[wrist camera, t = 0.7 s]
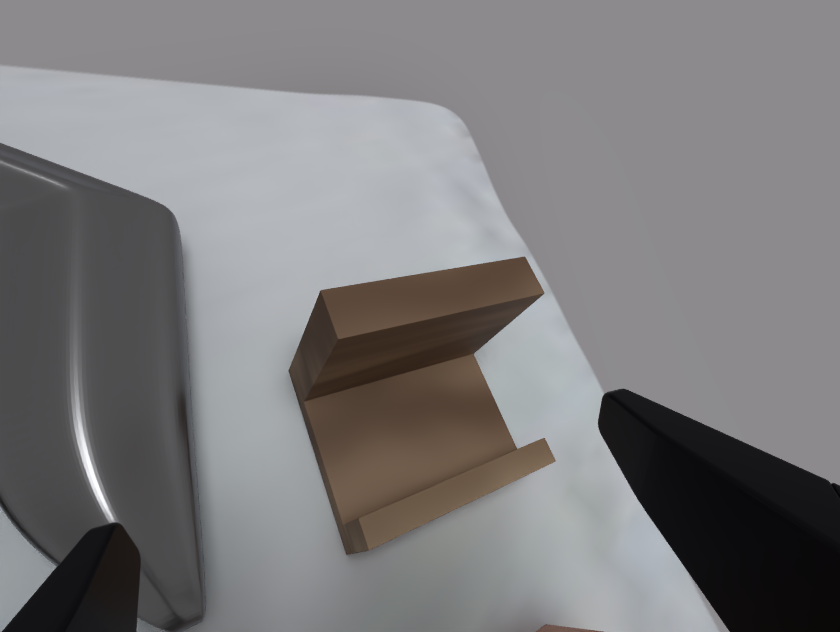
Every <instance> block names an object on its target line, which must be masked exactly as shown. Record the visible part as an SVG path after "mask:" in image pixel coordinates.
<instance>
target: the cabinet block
mask: <svg viewBox="0 0 840 632" xmlns="http://www.w3.org/2000/svg"><path fill="white" fill-rule="evenodd" d="M536 632H602V631H594V630H586V629H578V628H570V627H562V626H555V625H547V624H546V625H544V626H543V627H542V628H540V629H539V630H537V631H536Z"/></svg>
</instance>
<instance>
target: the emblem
mask: <svg viewBox="0 0 840 632" xmlns="http://www.w3.org/2000/svg"><path fill="white" fill-rule="evenodd" d="M0 507H1V508H2V510H3V511H4V513H5V514H6V516H7V517H8V518H9V520H10V521H11V522H12V524H13V525H14V526H15V527H16V529H17V530H18V531H19V532H20V533H21V534H22V535H23V537H24V538H25V539H26V540H27V541H28V542H29V543H30V544H31V545H32V546H33V547H34V548H35V549H37V550H38V551H39V552H40V553H41V554H42V555H43V556H45V557H46V558H47V559H48V560H49V561H51V562H52V563H53V564H55V565H56V566H58V565H59V564H60V563H61V562H62V560H63V559H64V558H65V557H66V556H67V555H68V553H69V552H70V551H71V550H72V549H73V547H74V546H75V545H76V544H77V543H78V542H79V540H80V539H81V538H82V537H83V536H84V535H85V534H86V532H88V531H89V530H90V529H92V528H94V527H98V526H101V525H105V524H109V523H113V522H118V523H120V524H122V525H123V527H124V528H125V530H126V531H127V532H128V534H129V535H130V537H131V538H132V540H133V541H134V543H135V544H136V546H137V547H138V549H139V552H140V556H141V573H140V587H139V601H138V615H137V617H138V618H139V619H141V620H143V621H145V622H147V623H149V624H151V625H153V626H155V627H158V628H160V629H162V630H165V631H168V632H182V631H184V630H186V629H188V628H190V627H192V626H194V625H196V624H198V623H200V622H202V621H203V619H204V617H205V609H206V596H205V576H204V561H203V547H202V535H201V522H200V510H199V498H198V486H197V474H196V462H195V450H194V436H193V422H192V407H191V391H190V375H189V359H188V343H187V327H186V311H185V295H184V278H183V262H182V247H181V236H180V230H179V226H178V223H177V220H176V218H175V216H174V214H173V213H172V212H171V211H170V210H169V209H168V208H167V207H165V206H164V205H162V204H160V203H158V202H156V201H154V200H151V199H149V198H147V197H144V196H142V195H139V194H136V193H134V192H131V191H129V190H126V189H123V188H121V187H118V186H115V185H112V184H110V183H107V182H104V181H102V180H99V179H96V178H94V177H91V176H88V175H86V174H83V173H80V172H77V171H75V170H72V169H69V168H67V167H64V166H61V165H59V164H56V163H53V162H51V161H48V160H45V159H42V158H40V157H37V156H34V155H32V154H29V153H26V152H24V151H21V150H18V149H15V148H13V147H10V146H7V145H5V144H2V143H0Z"/></svg>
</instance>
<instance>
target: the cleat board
mask: <svg viewBox="0 0 840 632" xmlns="http://www.w3.org/2000/svg"><path fill="white" fill-rule="evenodd" d="M543 294H544V291H543V289H542V287H541V285H540V284H539V282H538V280H537V278H536V276H535V274H534V272H533V271H532V269H531V267H530V265H529V263H528V261H527V259H526V258H525V257H520V258H514V259H508V260H502V261H496V262H489V263H483V264H477V265H471V266H465V267H459V268H453V269H447V270H441V271H435V272H429V273H423V274H417V275H411V276H405V277H398V278H392V279H386V280H380V281H374V282H368V283H362V284H356V285H350V286H344V287H338V288H332V289H326V290H321V291H320V293H319V296H318V298H317V301H316V303H315V306H314V308H313V311H312V313H311V316H310V318H309V321H308V323H307V326H306V328H305V331H304V333H303V336H302V338H301V341H300V344H299V346H298V349H297V351H296V354H295V356H294V359H293V361H292V364H291V366H290V369H289V373H290V376H291V380H292V383H293V386H294V389H295V392H296V395H297V399H298V402H299V405H300V408H301V411H302V415H303V418H304V421H305V424H306V427H307V430H308V434H309V437H310V440H311V443H312V446H313V450H314V453H315V456H316V459H317V462H318V465H319V469H320V472H321V475H322V478H323V481H324V485H325V488H326V491H327V494H328V497H329V500H330V504H331V507H332V510H333V513H334V516H335V519H336V523H337V526H338V529H339V532H340V535H341V539H342V542H343V545H344V548H345V551H346V554H347V555H348V554H353V553H358V552H363V551H368V550H371V549H373V548H375V547H377V546H379V545H381V544H384V543H386V542H388V541H390V540H392V539H394V538H396V537H398V536H400V535H402V534H405V533H407V532H409V531H411V530H413V529H415V528H417V527H419V526H421V525H423V524H425V523H428V522H430V521H432V520H434V519H436V518H438V517H440V516H442V515H444V514H446V513H449V512H451V511H453V510H455V509H457V508H459V507H461V506H463V505H465V504H467V503H470V502H472V501H474V500H476V499H478V498H480V497H482V496H484V495H486V494H488V493H490V492H493V491H495V490H497V489H499V488H501V487H503V486H505V485H507V484H509V483H511V482H514V481H516V480H518V479H520V478H522V477H524V476H526V475H528V474H530V473H532V472H535V471H537V470H539V469H541V468H543V467H545V466H547V465H549V464H551V463H553V462H556V461H555V458H554V456H553V454H552V452H551V450H550V448H549V446H548V444H547V442H546V440H545V438H543V439H540V440H538V441H535V442H533V443H531V444H528V445H526V446H524V447H521V448H519V449H517V448H516V446H515V444H514V441H513V439H512V437H511V435H510V433H509V430H508V428H507V426H506V424H505V422H504V420H503V417H502V415H501V413H500V411H499V409H498V406H497V404H496V402H495V400H494V398H493V396H492V393H491V391H490V389H489V387H488V385H487V383H486V380H485V378H484V376H483V374H482V372H481V369H480V367H479V365H478V363H477V361H476V359H475V356H474V353H475V352H476V351H477V350H478V349H480V348H481V347H482V346H483V345H484V344H485V343H487V342H488V341H489V340H490V339H491V338H493V337H494V336H495V335H496V334H497V333H498V332H500V331H501V330H502V329H503V328H504V327H506V326H507V325H508V324H509V323H510V322H511V321H513V320H514V319H515V318H516V317H517V316H518V315H520V314H521V313H522V312H523V311H524V310H526V309H527V308H528V307H529V306H530V305H531V304H533V303H534V302H535V301H536V300H537V299H539V298H540V297H541V296H542V295H543Z"/></svg>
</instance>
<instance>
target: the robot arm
mask: <svg viewBox="0 0 840 632" xmlns="http://www.w3.org/2000/svg"><path fill="white" fill-rule="evenodd" d="M598 427H599V431H600V433H601V435H602V437H603V439H604V441H605V442H606V444H607V446H608V448H609V449H610V451H611V453H612V455H613V457H614V458H615V460H616V462H617V464H618V466H619V467H620V469H621V471H622V473H623V474H624V476H625V478H626V480H627V482H628V483H629V485H630V487H631V489H632V490H633V492H634V494H635V495H636V497H637V499H638V500H639V502H640V503H641V505H642V506H643V508H644V509H645V511H646V512H647V514H648V515H649V517H650V518H651V520H652V521H653V522H654V524H655V525H656V527H657V528H658V530H659V531H660V532H661V534H662V535H663V537H664V538H665V540H666V541H667V542H668V544H669V545H670V547H671V548H672V550H673V551H674V553H675V554H676V555H677V557H678V558H679V560H680V561H681V563H682V564H683V565H684V567H685V568H686V570H687V571H688V573H689V574H690V575H691V577H692V578H693V580H694V581H695V583H696V584H697V585H698V587H699V588H700V590H701V591H702V593H703V594H704V595H705V597H706V598H707V600H708V601H709V602H710V604H711V606H712V607H713V608H714V610H715V611H716V613H717V614H718V615H719V617H720V618H721V620H722V621H723V623H724V624H725V626H726V627H727V628H728V630H729V631H730V632H840V486H839V485H837V484H835V483H832V484H831V483H830V482H829V481H828V480H826V479H824V478H821V477H819V476H817V475H815V474H813V473H810V472H808V471H806V470H804V469H802V468H799V467H797V466H795V465H793V464H791V463H788V462H786V461H784V460H782V459H780V458H777V457H775V456H773V455H771V454H768V453H766V452H764V451H762V450H760V449H757V448H755V447H753V446H751V445H749V444H746V443H744V442H742V441H739V440H737V439H735V438H733V437H731V436H728V435H726V434H724V433H722V432H720V431H718V430H715V429H713V428H711V427H709V426H706V425H704V424H702V423H700V422H698V421H695V420H693V419H691V418H689V417H686V416H684V415H682V414H680V413H678V412H675V411H673V410H671V409H669V408H666V407H664V406H662V405H660V404H658V403H655V402H653V401H651V400H649V399H647V398H644V397H642V396H640V395H638V394H636V393H633V392H631V391H629V390H626V389H618V390H614V391H610V392H607V393H605V394H604V396H603V398H602V402H601V408H600V413H599V419H598ZM140 573H141V556H140V552H139V549H138V547H137V546H136V544H135V543H134V541H133V540H132V538H131V537H130V535H129V534H128V532H127V531H126V530H125V528H124V527H123V525H122V524H120V523H118V522H113V523H109V524H105V525H101V526H98V527H94V528H92V529H90V530H89V531H88V532H86V534H85V535H84V536H83V537H82V538H81V539H80V540H79V542H78V543H77V544H76V545H75V546H74V547H73V549H72V550H71V551H70V552H69V553H68V555H67V556H66V557H65V558H64V559H63V560H62V562H61V563H60V564H59V565H58V566H57V567H56V569H55V570H54V571H53V572H52V573H51V575H50V576H49V577H48V578H47V579H46V580H45V582H44V583H43V584H42V585H41V586H40V587H39V589H38V590H37V591H36V592H35V593H34V595H33V596H32V597H31V598H30V599H29V600H28V602H27V603H26V604H25V605H24V606H23V607H22V609H21V610H20V611H19V612H18V613H17V615H16V616H15V617H14V618H13V619H12V620H11V622H10V623H9V624H8V625H7V626H6V627H5V629H4V630H3V631H2V632H136V629H137V615H138V601H139V587H140Z"/></svg>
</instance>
